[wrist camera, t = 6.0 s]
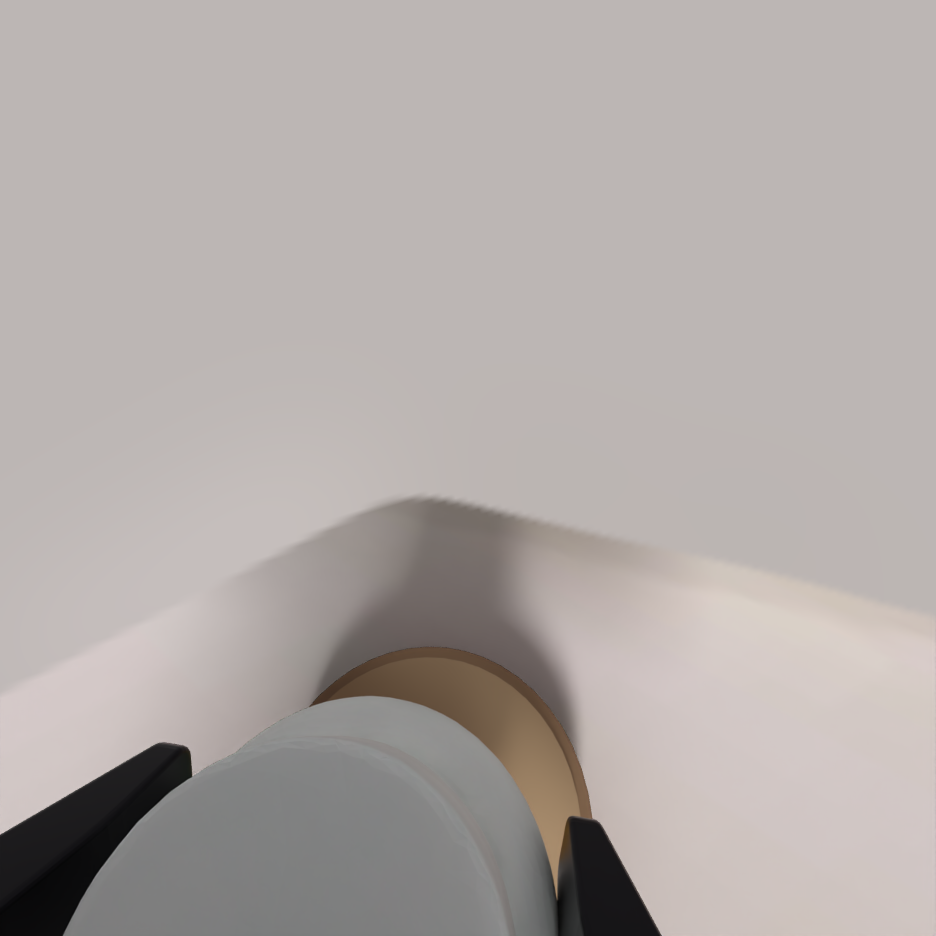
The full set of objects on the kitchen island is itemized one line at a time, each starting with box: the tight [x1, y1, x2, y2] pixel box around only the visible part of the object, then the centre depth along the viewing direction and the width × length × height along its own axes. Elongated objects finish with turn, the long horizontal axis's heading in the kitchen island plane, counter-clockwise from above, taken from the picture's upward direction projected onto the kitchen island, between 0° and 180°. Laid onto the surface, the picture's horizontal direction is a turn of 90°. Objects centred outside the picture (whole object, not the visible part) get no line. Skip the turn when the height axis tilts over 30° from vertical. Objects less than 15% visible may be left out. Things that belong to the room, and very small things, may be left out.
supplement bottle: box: [63, 696, 558, 936], centre depth 8 cm, size 5×5×10 cm
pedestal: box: [309, 647, 592, 897], centre depth 17 cm, size 10×10×3 cm
